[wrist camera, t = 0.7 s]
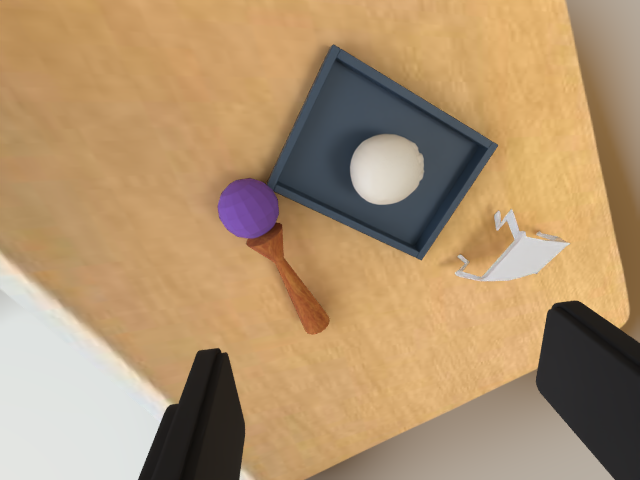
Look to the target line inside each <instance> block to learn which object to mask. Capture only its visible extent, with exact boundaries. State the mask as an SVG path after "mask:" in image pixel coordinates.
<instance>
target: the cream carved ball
mask: <svg viewBox="0 0 640 480" xmlns="http://www.w3.org/2000/svg"><path fill="white" fill-rule="evenodd" d="M423 168H424V158H423V155H422V154H421V153H419V151H418V147H417V145H416V144H415V143H413V142H411V141H409V140H407V139H406V138H404V137H401V136H398V135H395V134H381V135H376V136H373V137H371V138H369V139H366V140H365V141H363V142H362V143H361V144H360V145H359V146H358V147H357V149H356V150H355V152H354V154H353V156H352V159H351V164H350V174H351V180H352V183H353V186H354V188H355V190H356V191H357V192H358V194H359V195H360V196H361V197H362V198H364V199H365V200H366V201H368V202H370V203H373V204H378V205H386V204H393V203H397V202H399V201H401V200H403V199H405V198H406V197H407V196H409V195H410V194H411V193H412V192H413V191H414V190H415V189H416V188H417V187H418V185H419V181H420V180H421V179H422V178H423V174H424V170H423Z"/></svg>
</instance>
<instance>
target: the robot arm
mask: <svg viewBox="0 0 640 480" xmlns="http://www.w3.org/2000/svg"><path fill="white" fill-rule="evenodd" d="M536 384H537V387H538V390H539V391H540V393H541V394H542V395H543V396H544V398H545V399H546V400H547V401H548V402H549V403H550V404H551V406H552V407H553V408H554V409H555V410H556V412H557V413H558V414H559V415H560V416H561V417H562V419H563V420H564V421H565V422H566V423H567V424H568V426H569V427H570V428H571V429H572V430H573V431H574V433H576V435H577V436H578V437H579V438H580V440H581V441H582V442H583V443H584V444H585V445H586V447H587V448H588V449H589V450H590V451H591V452H592V453H593V455H594V456H595V457H596V458H597V459H598V460H599V462H600V463H601V464H602V465H603V466H604V467H605V469H606V470H607V471H608V472H609V473H610V474H611V476H612V477H613V478H614V479H615V480H640V343H638V342H637V341H636V340H634V339H633V338H632V337H630V336H628V335H627V334H626V333H624V332H623V331H622V330H620V329H619V328H617V327H616V326H614V325H613V324H611V323H610V322H609V321H607V320H606V319H604V318H603V317H601V316H600V315H598V314H597V313H596V312H594V311H593V310H591V309H590V308H588V307H587V306H585V305H584V304H583V303H581V302H579V301H568V302H560V303H555V304H554V305H553V306H552V308H551V309H550V310H549V311H548V313H547V318H546V323H545V329H544V335H543V341H542V347H541V353H540V359H539V365H538V371H537V376H536ZM244 439H245V422H244V418H243V414H242V409H241V405H240V401H239V397H238V393H237V389H236V385H235V381H234V377H233V373H232V369H231V364H230V360H229V356H228V354H227V353H221V350H220V349H219V348H215V349H208V350H200V351H198V352H197V354H196V357H195V360H194V362H193V365H192V368H191V371H190V373H189V376H188V379H187V382H186V384H185V387H184V390H183V393H182V395H181V398H180V401H179V404H173V405H170V406H169V407H167V409H166V411H165V413H164V415H163V418H162V420H161V423H160V426H159V428H158V431H157V433H156V436H155V438H154V441H153V443H152V446H151V448H150V451H149V453H148V456H147V458H146V461H145V464H144V466H143V469H142V471H141V474H140V476H139V479H138V480H239V477H240V469H241V462H242V454H243V446H244Z"/></svg>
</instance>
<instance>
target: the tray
mask: <svg viewBox="0 0 640 480" xmlns="http://www.w3.org/2000/svg"><path fill="white" fill-rule="evenodd" d="M381 134H395V135H398V136H401V137H404V138H406V139H407V140H409V141H411V142H413V143H415V144H416V145H417V147H418V151H419V153H421V154H422V155H423V158H424V168H423V170H424V174H423V178H422V179H421V180H420V181H419V185H418V187H417V188H416V189H415V190H414V191H413V192H412V193H411V194H410V195H409V196H407V197H406V198H405V199H403V200H401V201H399V202H397V203H393V204H386V205H378V204H373V203H370V202H368V201H366V200H365V199H364V198H362V197H361V196H360V195H359V194H358V192H357V191H356V190H355V188H354V186H353V183H352V180H351V174H350V164H351V159H352V156H353V154H354V152H355V150H356V149H357V147H358V146H359V145H360V144H361V143H362V142H363V141H365V140H366V139H369V138H371V137H373V136H376V135H381ZM497 147H498V145H497V144H496V143H494V142H492V141H491V140H489V139H488V138H486V137H484V136H483V135H481V134H479V133H478V132H476V131H475V130H473V129H471V128H470V127H468V126H466V125H465V124H463V123H461V122H460V121H458V120H457V119H455V118H453V117H452V116H450V115H448V114H447V113H445V112H443V111H442V110H440V109H439V108H437V107H435V106H434V105H432V104H430V103H429V102H427V101H426V100H424V99H422V98H421V97H419V96H417V95H416V94H414V93H412V92H411V91H409V90H408V89H406V88H404V87H403V86H401V85H399V84H398V83H396V82H394V81H393V80H391V79H390V78H388V77H386V76H385V75H383V74H381V73H380V72H378V71H376V70H375V69H373V68H372V67H370V66H368V65H367V64H365V63H363V62H362V61H360V60H358V59H357V58H355V57H354V56H352V55H350V54H349V53H347V52H345V51H344V50H342V49H340V48H339V47H337V46H336V45H334V44H333V45H332V46H331V47H330V48H329V51H328V53H327V55H326V57H325V59H324V61H323V63H322V66H321V68H320V70H319V72H318V74H317V76H316V78H315V81H314V83H313V85H312V87H311V89H310V91H309V93H308V96H307V98H306V100H305V102H304V104H303V106H302V108H301V111H300V113H299V115H298V117H297V119H296V121H295V123H294V126H293V128H292V130H291V132H290V134H289V136H288V138H287V141H286V143H285V145H284V147H283V149H282V151H281V153H280V156H279V158H278V160H277V162H276V164H275V166H274V168H273V170H272V173H271V175H270V177H269V179H268V181H267V186H268V187H270V188H271V189H272V190H273V191H274V192H276V193H278V194H280V195H283V196H285V197H287V198H289V199H291V200H293V201H295V202H298V203H300V204H302V205H304V206H306V207H308V208H310V209H313V210H315V211H317V212H319V213H321V214H323V215H325V216H328V217H330V218H332V219H334V220H336V221H338V222H340V223H343V224H345V225H347V226H349V227H351V228H353V229H356V230H358V231H360V232H362V233H364V234H366V235H368V236H371V237H373V238H375V239H377V240H379V241H381V242H383V243H386V244H388V245H390V246H392V247H394V248H396V249H398V250H401V251H403V252H405V253H407V254H409V255H411V256H413V257H416V258H417V259H420V260H422V259H423V258H424V256H425V255H426V253H427V252H428V250H429V249H430V247H431V246H432V244H433V243H434V241H435V240H436V238H437V237H438V235H439V234H440V232H441V231H442V229H443V228H444V226H445V225H446V223H447V222H448V220H449V219H450V217H451V216H452V214H453V213H454V211H455V210H456V208H457V207H458V205H459V204H460V202H461V201H462V199H463V198H464V196H465V195H466V193H467V192H468V190H469V189H470V187H471V186H472V184H473V183H474V181H475V180H476V178H477V177H478V175H479V174H480V172H481V171H482V169H483V168H484V166H485V165H486V163H487V162H488V160H489V159H490V157H491V156H492V154H493V153H494V151H495V150H496V148H497Z"/></svg>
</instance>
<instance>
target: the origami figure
mask: <svg viewBox="0 0 640 480" xmlns="http://www.w3.org/2000/svg"><path fill="white" fill-rule="evenodd" d="M494 218H495V225H496V230H499V229H500V228H501V226H502V225H503V224H504V223H505V222H506V221H507V222H508V224H509V227H510V229H511V232H512V234H513V237H514V241H513V242H512V244H511V245H510V246H509V247H508V248H507V249H506V250H505V251H504V253H503V254H502V255H501V256H500V257H499V258H498V259H497V260H496V262H495V263H494V264H493V265H492V266H491V267H490V268H489V269H488V271H487V272H486V273H485V274H484V275H483V276H482V277H479V276H475V275H472V274H468V273H465V272H462V271H463V270H464V269H465V267H466V266H467V265H468V264H469V261H468V260H467V259H466V258H464V257H463V256H462V255H461V254H460V255H459V256H457V257H458V258H459V259H460V260H462V261H463V262H464V263H465V264H464V265H463V266H462V267H461V268H460V269H459V270H458V271H456V272H455V274H456V275H457V276H459V277H463V278H467V279H472V280H478V281H508V280H512V279H516V278H520V277H524V276H527V275H531V274H537V273H538V272H539V271H540V270H541V269H542V268H543V267H544V266H545V265H546V264H547V263H548V262H549V261H550V260H552V259H553V258H554V257H555V256H556V255H557V254H558V253H559V252H560V251H561V250H563V249H564V248H565V247H566V246H567V245H569V244H570V243H568V242H566V241H564V240H563V239H561V238H560V237H557V236H552V235H548V234H543V233H541V232H540V231H539V232H537V234H536V235H537V236H540V237H543V238H546V239H549V240H540V239H535V238H530V237H526V233H525V231H519V228H518V224H517V221H516V218H515V215H514V212H513V211H512V209H511V210H510V211H509V212H508V214H507V215H506V216H505V218H504V219H503V220H502V222H501V215H500V211H499V210H498V212H497V213H496V214H495V215H494Z"/></svg>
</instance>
